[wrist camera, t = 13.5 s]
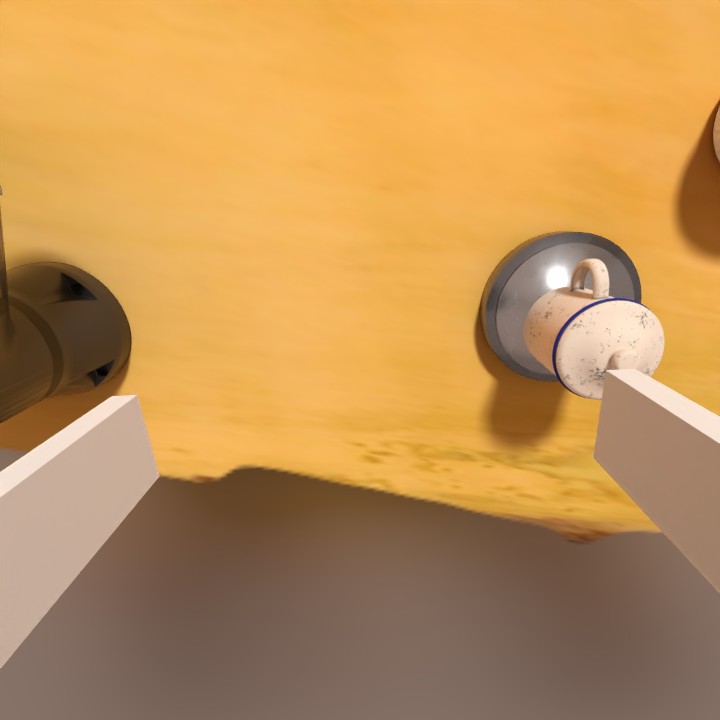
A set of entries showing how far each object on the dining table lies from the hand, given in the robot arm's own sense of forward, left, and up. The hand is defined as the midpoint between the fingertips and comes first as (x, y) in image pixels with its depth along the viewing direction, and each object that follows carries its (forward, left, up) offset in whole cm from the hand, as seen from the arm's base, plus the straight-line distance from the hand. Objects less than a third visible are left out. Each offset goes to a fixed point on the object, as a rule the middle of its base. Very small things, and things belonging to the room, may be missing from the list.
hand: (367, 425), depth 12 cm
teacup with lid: (+20, -5, -32) cm, 38 cm away
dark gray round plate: (+20, -5, -35) cm, 40 cm away
